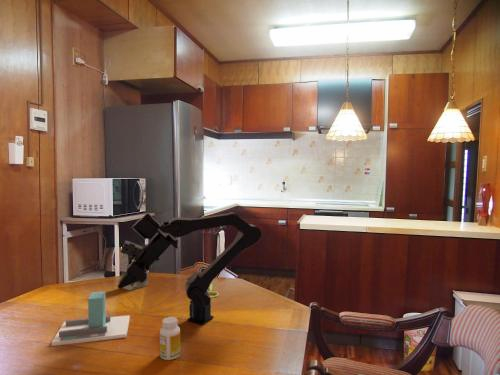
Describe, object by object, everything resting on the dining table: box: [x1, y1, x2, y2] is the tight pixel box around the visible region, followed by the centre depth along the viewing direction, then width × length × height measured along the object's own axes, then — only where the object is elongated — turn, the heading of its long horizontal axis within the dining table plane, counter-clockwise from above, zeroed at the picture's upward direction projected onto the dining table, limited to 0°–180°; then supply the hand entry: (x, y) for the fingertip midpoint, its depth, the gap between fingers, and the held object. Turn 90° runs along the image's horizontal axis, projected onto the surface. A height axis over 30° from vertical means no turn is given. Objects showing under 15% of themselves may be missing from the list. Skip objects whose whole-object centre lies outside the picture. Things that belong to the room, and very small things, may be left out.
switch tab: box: [87, 290, 107, 328], centre depth 107 cm, size 4×6×10 cm, turn 15°
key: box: [207, 283, 220, 299], centre depth 141 cm, size 7×12×2 cm, turn 21°
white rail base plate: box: [51, 315, 131, 347], centre depth 107 cm, size 20×14×2 cm
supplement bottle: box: [159, 316, 181, 361], centre depth 93 cm, size 5×5×10 cm
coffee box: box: [121, 253, 149, 291], centre depth 148 cm, size 9×6×16 cm
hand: (119, 285), depth 108 cm, fingers open, 3 cm apart
